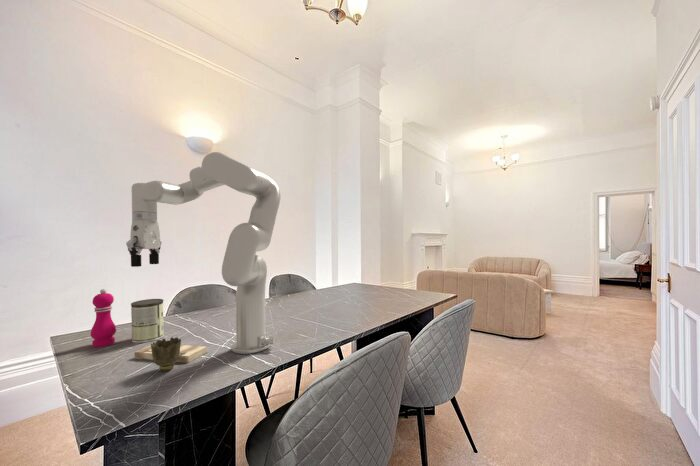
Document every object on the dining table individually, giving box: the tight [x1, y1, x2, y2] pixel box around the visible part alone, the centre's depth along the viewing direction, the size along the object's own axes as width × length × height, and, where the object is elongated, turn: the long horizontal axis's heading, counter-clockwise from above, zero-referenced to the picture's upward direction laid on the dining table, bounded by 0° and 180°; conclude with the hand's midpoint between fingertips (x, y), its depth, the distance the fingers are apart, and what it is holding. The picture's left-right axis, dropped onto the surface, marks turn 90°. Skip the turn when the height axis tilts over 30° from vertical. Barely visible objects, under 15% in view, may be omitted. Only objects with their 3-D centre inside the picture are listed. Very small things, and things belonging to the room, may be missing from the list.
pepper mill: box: [90, 288, 117, 348], centre depth 109 cm, size 7×7×20 cm
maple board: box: [134, 344, 208, 364], centre depth 97 cm, size 20×8×2 cm, turn 77°
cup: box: [150, 337, 182, 372], centre depth 86 cm, size 8×7×8 cm
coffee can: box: [130, 298, 165, 344], centre depth 115 cm, size 10×10×14 cm
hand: (145, 265), depth 108 cm, fingers open, 9 cm apart
